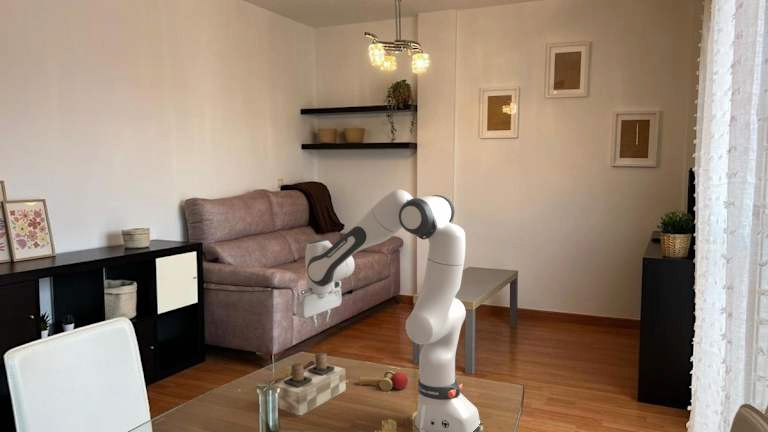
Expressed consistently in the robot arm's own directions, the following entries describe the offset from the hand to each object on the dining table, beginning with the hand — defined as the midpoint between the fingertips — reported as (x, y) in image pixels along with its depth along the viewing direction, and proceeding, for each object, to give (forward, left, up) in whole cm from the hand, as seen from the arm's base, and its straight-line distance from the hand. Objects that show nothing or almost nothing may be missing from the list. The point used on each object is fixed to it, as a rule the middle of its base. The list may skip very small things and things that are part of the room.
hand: (320, 324), depth 202 cm
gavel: (+17, -10, -26) cm, 33 cm away
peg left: (0, +12, -20) cm, 23 cm away
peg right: (0, 0, -20) cm, 20 cm away
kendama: (-15, -16, -26) cm, 34 cm away
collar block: (0, +6, -25) cm, 26 cm away
